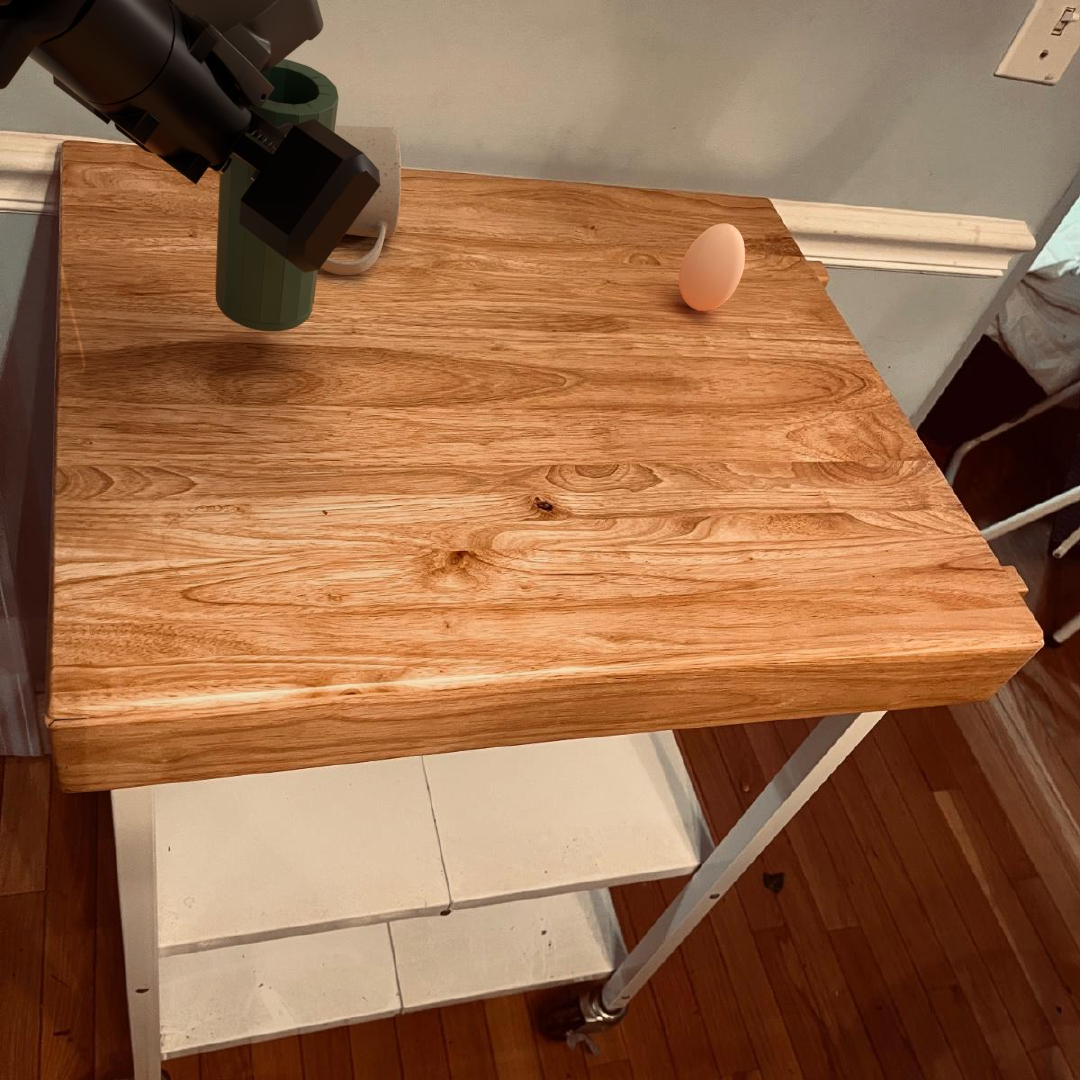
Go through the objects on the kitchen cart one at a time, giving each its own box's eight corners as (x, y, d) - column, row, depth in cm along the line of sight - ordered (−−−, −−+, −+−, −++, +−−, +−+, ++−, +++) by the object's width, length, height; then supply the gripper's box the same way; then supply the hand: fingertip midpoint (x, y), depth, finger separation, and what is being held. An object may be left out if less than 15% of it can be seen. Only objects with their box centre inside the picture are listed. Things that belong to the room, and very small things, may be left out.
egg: (734, 322, 85) (771, 243, 79) (687, 328, 83) (721, 247, 77) (704, 285, 87) (737, 206, 82) (657, 290, 85) (688, 209, 80)
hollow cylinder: (241, 340, 63) (255, 118, 53) (199, 282, 66) (204, 59, 55) (329, 321, 66) (358, 108, 56) (285, 266, 69) (305, 53, 59)
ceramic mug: (276, 189, 81) (282, 95, 76) (383, 199, 84) (397, 108, 78) (285, 277, 75) (292, 181, 69) (400, 285, 78) (417, 193, 72)
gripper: (379, -15, 44) (494, 161, 59) (87, -198, 49) (261, 7, 64) (220, 208, 44) (373, 326, 59) (-51, 4, 50) (153, 159, 64)
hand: (290, 195), depth 62 cm, fingers closed on hollow cylinder, 6 cm apart
